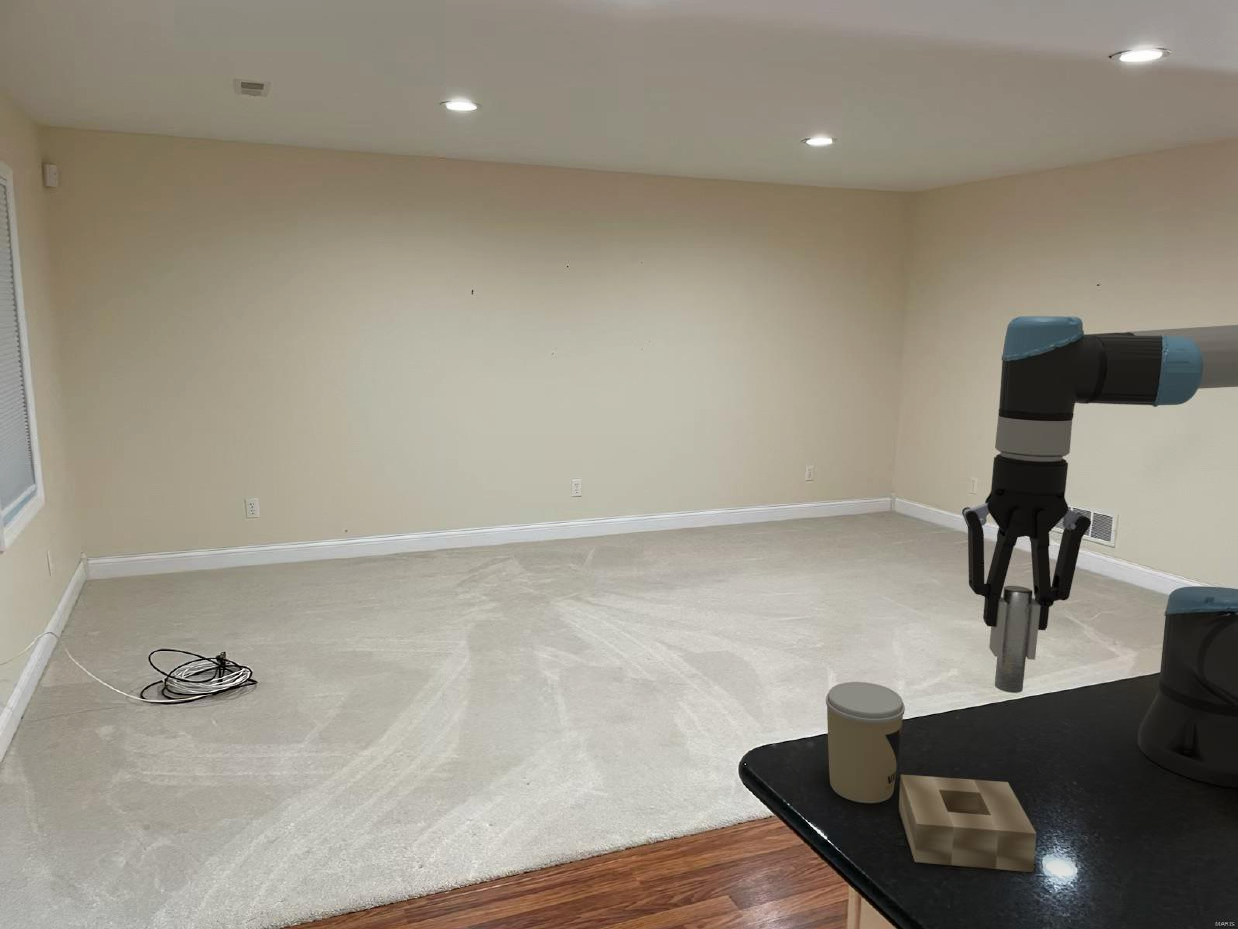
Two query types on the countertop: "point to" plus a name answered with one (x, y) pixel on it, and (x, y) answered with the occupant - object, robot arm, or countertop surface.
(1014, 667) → the peg
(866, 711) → the coffee cup
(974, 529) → the robot arm
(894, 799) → the countertop surface
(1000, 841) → the hole block
